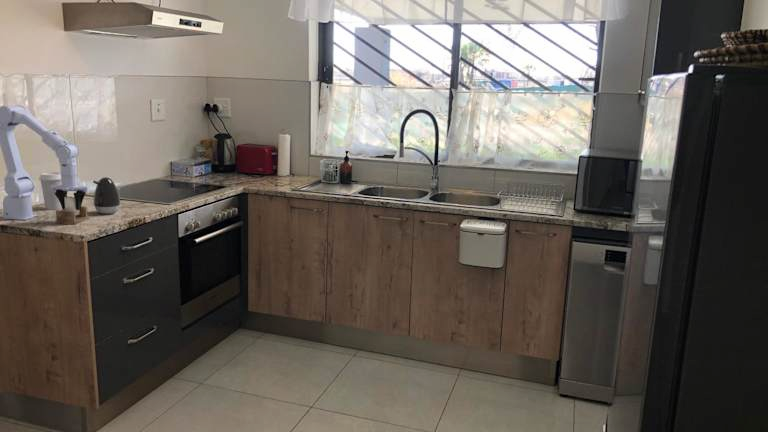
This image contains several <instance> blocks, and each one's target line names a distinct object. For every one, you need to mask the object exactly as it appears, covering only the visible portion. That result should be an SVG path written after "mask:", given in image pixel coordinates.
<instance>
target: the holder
mask: <svg viewBox="0 0 768 432" xmlns="http://www.w3.org/2000/svg"><path fill="white" fill-rule="evenodd" d="M79 213H80V214H79V215H75V211H69V209H57V210H55V216H56V217H55V218H56V220H54V224H55V225H57V224H58V225H73V226H75V225H78V224H79V223H82V222H84V221H86V220H87V221H88V220H90V215H88V207H87V206H86V205H85V206H82V205H81V209H80V210H79Z"/></svg>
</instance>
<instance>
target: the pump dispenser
mask: <svg viewBox="0 0 768 432" xmlns="http://www.w3.org/2000/svg"><path fill="white" fill-rule="evenodd" d="M92 183H94V184H96V187H95V190H94V194H93V195H94V196H93V206H94V207H95V210H96V212H98V213H99V214H101V215H112V214H115V213H116V212H117V211H119V208H120V206H121V199H120V194H119V191H118V188H117V186H116V184H115V183H114V181H113V180H112V178H109V177H106V176H105V177H101V178H100V179H99V180H98V181H97V180H93V182H92Z"/></svg>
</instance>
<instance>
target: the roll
mask: <svg viewBox="0 0 768 432" xmlns="http://www.w3.org/2000/svg"><path fill="white" fill-rule="evenodd" d="M64 203H65V209H69V211H75V215H79V214H80V213H79V210H76V201H75V197H74V195H67V196H66V197H64Z"/></svg>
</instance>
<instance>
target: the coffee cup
mask: <svg viewBox="0 0 768 432" xmlns="http://www.w3.org/2000/svg"><path fill="white" fill-rule="evenodd" d="M38 179H39V181H40V184H41V185H40V186H41V191H42V196H43V202H44V207H45V209H46V210H47V211H48V210H50V211H52V210H53V211H57V210H62V206H61V204H60V201H59V200H58V198H57V197H56V195H55V192H56V191H51V188H50V186H52V185H62V184H61V172H56V171H55V172H54V171H53V172H43V173H41V174H40V175H39V178H38Z"/></svg>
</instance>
